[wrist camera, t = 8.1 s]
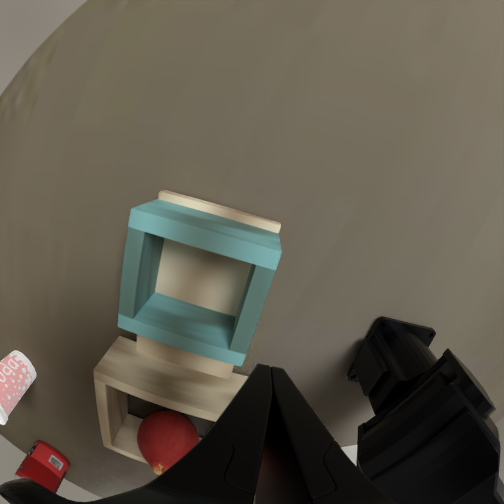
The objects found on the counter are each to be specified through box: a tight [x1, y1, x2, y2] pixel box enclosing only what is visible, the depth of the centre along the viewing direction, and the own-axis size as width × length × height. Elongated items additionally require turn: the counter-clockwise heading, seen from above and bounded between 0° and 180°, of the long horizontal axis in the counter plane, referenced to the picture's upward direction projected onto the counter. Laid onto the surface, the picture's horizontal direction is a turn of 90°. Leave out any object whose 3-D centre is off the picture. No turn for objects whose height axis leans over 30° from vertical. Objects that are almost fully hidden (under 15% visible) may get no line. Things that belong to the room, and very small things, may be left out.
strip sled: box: [93, 190, 282, 464], centre depth 20 cm, size 12×25×5 cm, turn 164°
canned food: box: [14, 441, 69, 493], centre depth 28 cm, size 8×8×11 cm
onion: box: [137, 410, 199, 475], centre depth 21 cm, size 6×6×8 cm
